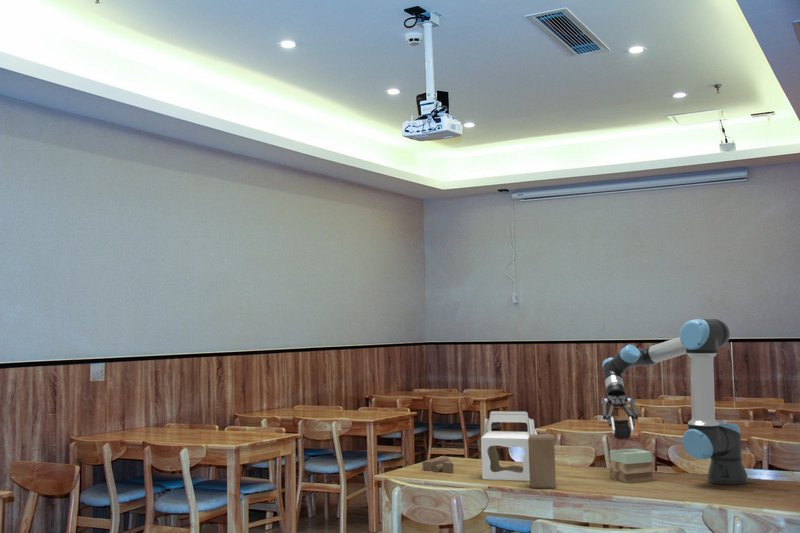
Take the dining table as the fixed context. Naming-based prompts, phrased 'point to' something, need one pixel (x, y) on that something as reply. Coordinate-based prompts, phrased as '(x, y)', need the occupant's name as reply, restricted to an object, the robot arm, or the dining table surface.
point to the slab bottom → (631, 477)
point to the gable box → (505, 439)
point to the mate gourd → (621, 429)
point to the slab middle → (631, 467)
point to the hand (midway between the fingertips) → (623, 431)
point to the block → (542, 461)
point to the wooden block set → (438, 465)
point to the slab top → (630, 456)
